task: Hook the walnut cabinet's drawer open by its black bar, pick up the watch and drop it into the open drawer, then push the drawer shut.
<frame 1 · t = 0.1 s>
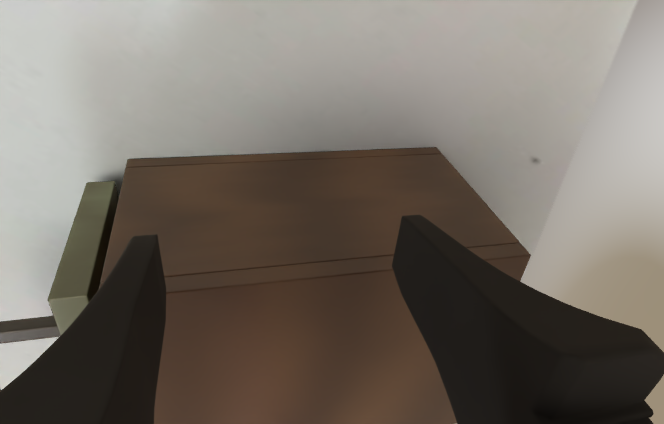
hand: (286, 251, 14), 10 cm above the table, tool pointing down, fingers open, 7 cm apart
drawer: (207, 310, 22), point 5 cm above the table, slide at 0.5 cm
cabinet: (290, 242, 27), on the table
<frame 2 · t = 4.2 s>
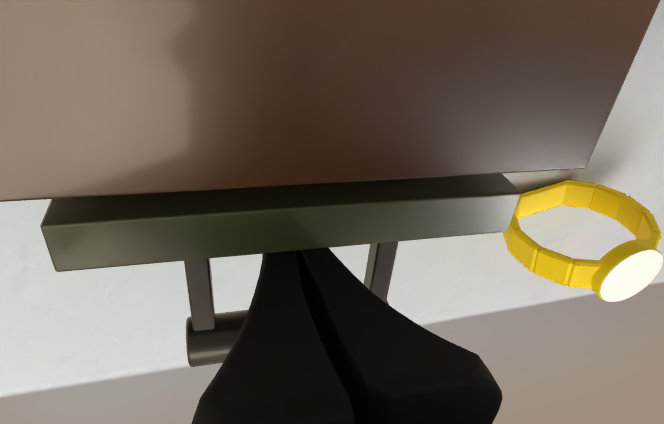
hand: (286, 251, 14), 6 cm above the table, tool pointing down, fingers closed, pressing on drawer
watch: (537, 194, 23), on the table
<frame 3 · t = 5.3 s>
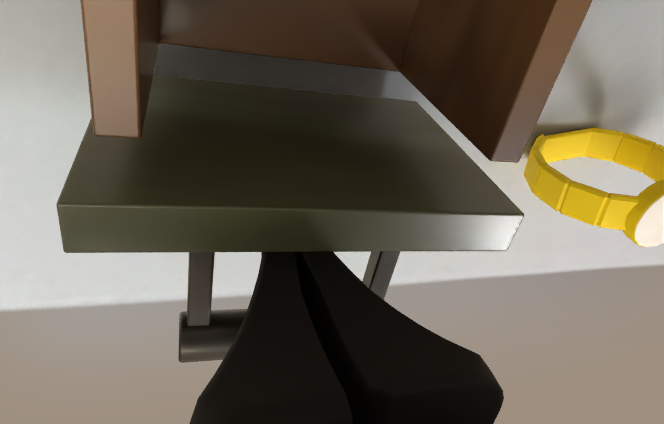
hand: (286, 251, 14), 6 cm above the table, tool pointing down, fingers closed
watch: (560, 141, 22), on the table
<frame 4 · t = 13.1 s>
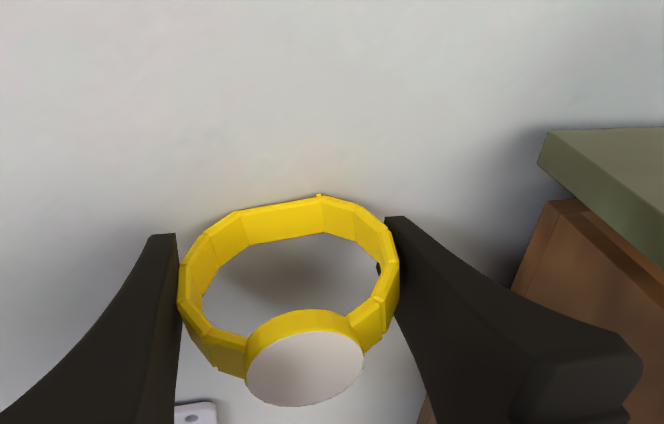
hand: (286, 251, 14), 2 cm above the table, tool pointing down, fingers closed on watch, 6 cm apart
watch: (276, 214, 16), on the table, touching gripper
cabinet: (507, 412, 27), on the table
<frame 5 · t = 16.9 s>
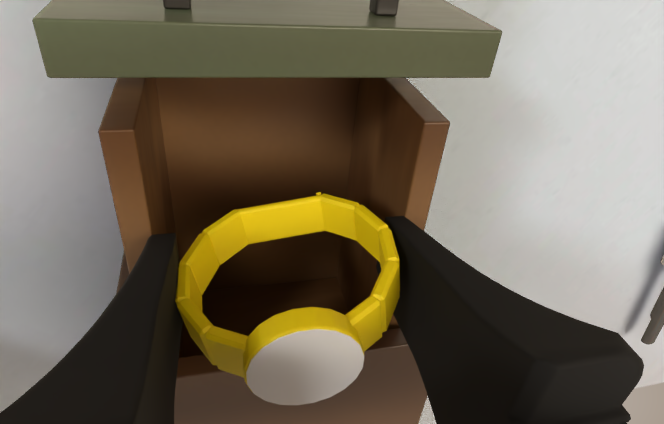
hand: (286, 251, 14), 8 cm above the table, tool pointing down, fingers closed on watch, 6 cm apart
drawer: (271, 144, 16), point 5 cm above the table, slide at 9.3 cm
watch: (276, 212, 16), point 6 cm above the table, touching gripper
cabinet: (259, 318, 27), on the table
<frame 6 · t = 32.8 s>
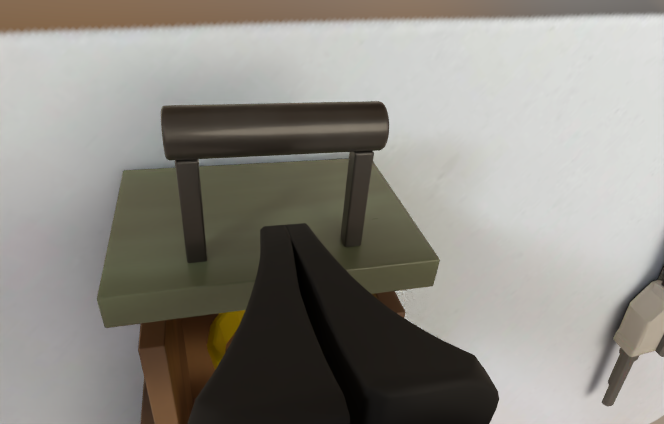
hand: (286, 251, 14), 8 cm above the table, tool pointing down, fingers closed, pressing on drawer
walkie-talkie: (662, 301, 37), on the table
drawer: (266, 305, 20), point 5 cm above the table, slide at 9.7 cm, touching gripper, watch
watch: (281, 289, 23), point 2 cm above the table, touching drawer
cabinet: (257, 407, 31), on the table
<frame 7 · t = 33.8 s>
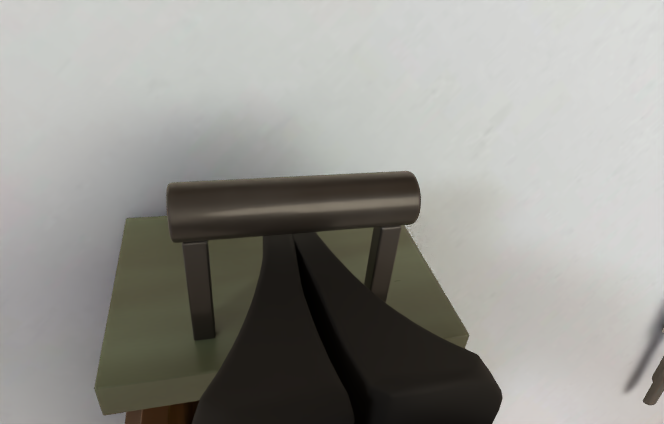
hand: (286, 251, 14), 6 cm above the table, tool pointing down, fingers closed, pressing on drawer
drawer: (277, 361, 19), point 5 cm above the table, slide at 5.2 cm, touching gripper, watch
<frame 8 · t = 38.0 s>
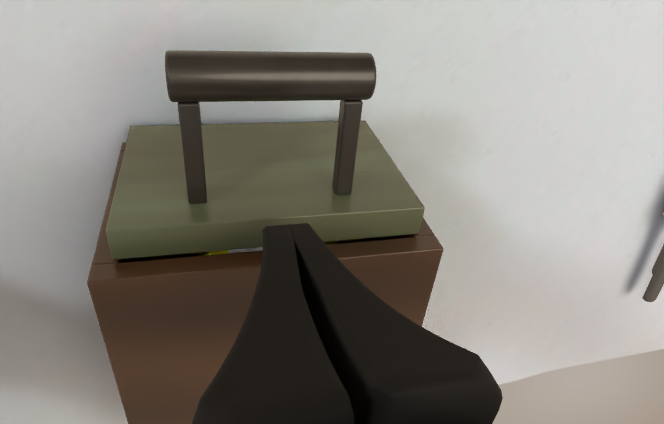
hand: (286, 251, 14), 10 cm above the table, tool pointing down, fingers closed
drawer: (264, 257, 21), point 5 cm above the table, slide at 0.0 cm, touching cabinet, watch
cabinet: (254, 262, 27), on the table
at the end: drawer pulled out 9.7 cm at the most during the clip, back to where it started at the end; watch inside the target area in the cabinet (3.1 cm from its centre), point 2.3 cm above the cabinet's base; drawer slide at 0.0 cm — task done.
